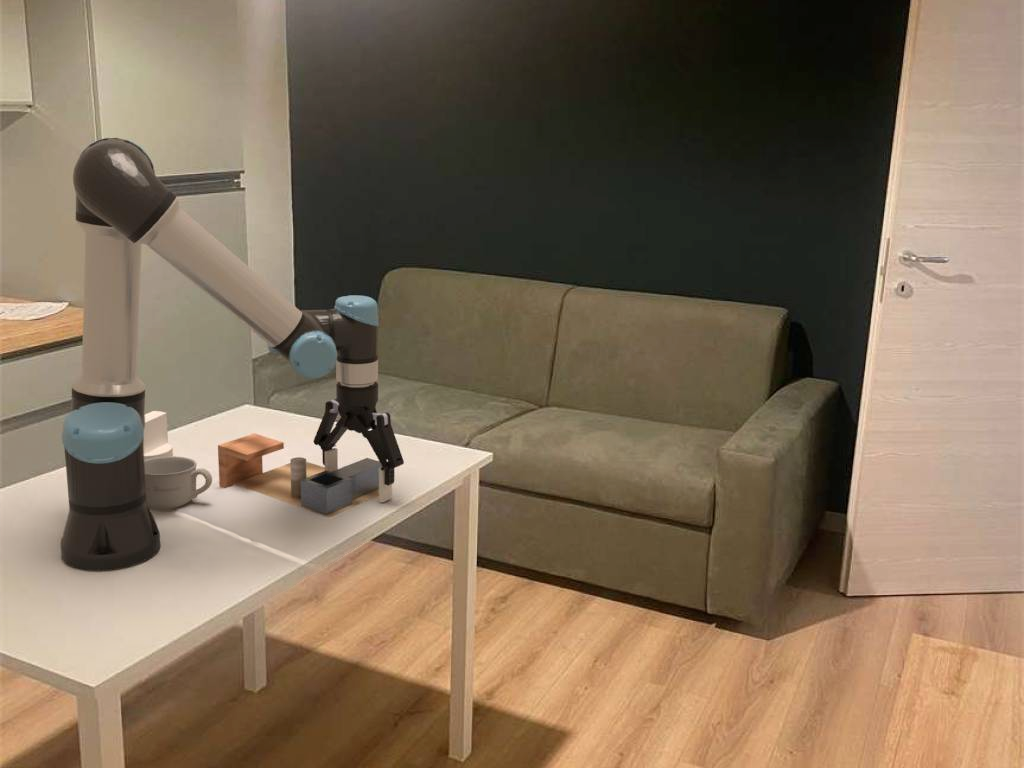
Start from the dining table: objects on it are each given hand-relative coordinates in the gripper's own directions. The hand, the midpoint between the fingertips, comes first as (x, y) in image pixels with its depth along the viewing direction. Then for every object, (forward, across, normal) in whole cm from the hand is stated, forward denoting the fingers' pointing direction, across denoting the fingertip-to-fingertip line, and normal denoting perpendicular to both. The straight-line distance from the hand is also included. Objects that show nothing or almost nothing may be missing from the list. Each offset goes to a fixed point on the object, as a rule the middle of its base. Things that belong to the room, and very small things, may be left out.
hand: (357, 491), depth 197 cm
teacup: (+1, +22, +24) cm, 33 cm away
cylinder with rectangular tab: (+1, +37, +18) cm, 41 cm away
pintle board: (+1, +10, +4) cm, 11 cm away
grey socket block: (0, 0, +3) cm, 3 cm away
